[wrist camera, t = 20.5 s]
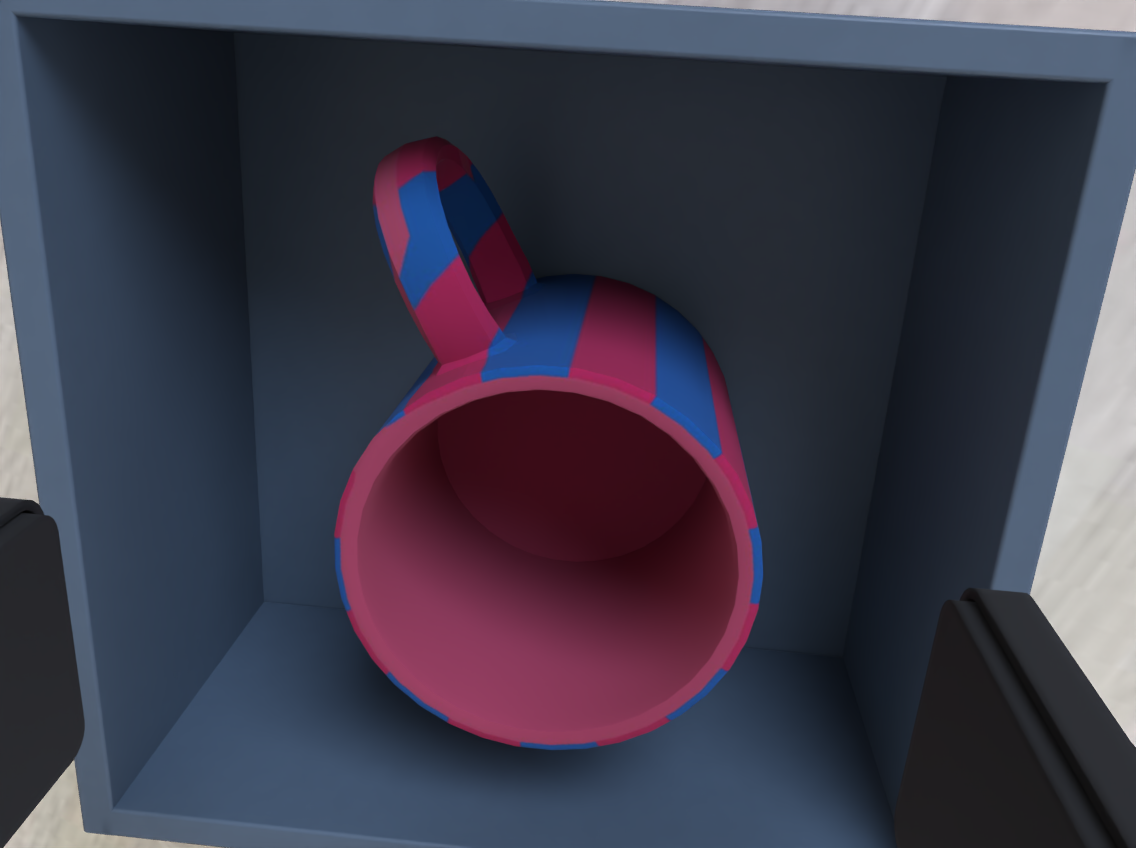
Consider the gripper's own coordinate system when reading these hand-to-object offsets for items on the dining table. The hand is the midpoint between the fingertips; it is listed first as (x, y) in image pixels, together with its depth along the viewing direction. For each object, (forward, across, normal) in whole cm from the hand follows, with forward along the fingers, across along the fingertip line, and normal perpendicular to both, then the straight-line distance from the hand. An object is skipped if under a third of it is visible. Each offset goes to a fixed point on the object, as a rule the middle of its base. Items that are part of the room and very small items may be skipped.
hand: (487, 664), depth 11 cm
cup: (+12, 0, 0) cm, 12 cm away
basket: (+8, +8, 0) cm, 11 cm away
